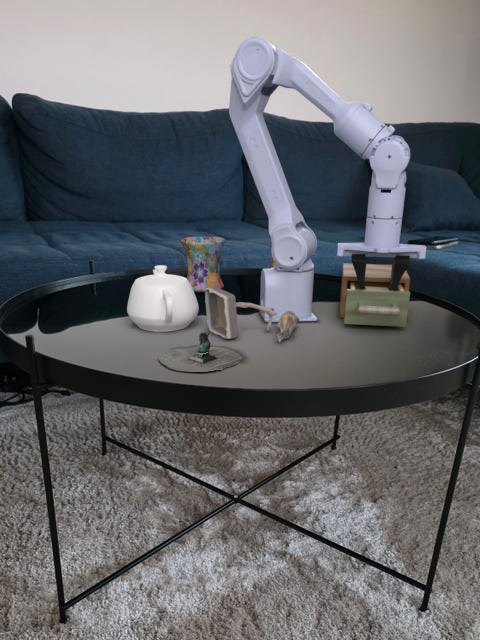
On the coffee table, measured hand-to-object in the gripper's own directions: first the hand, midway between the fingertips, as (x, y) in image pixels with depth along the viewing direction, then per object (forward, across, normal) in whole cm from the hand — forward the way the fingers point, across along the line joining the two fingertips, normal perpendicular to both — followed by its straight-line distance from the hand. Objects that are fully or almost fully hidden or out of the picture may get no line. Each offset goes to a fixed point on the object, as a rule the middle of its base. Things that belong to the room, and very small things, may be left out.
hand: (375, 299), depth 103 cm
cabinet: (+4, 0, +9) cm, 10 cm away
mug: (+5, -35, +22) cm, 42 cm away
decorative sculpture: (+5, -20, -10) cm, 23 cm away
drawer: (+3, 0, -1) cm, 4 cm away
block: (+2, 0, 0) cm, 2 cm away
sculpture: (+5, -26, -24) cm, 36 cm away
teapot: (+5, -37, -6) cm, 38 cm away
